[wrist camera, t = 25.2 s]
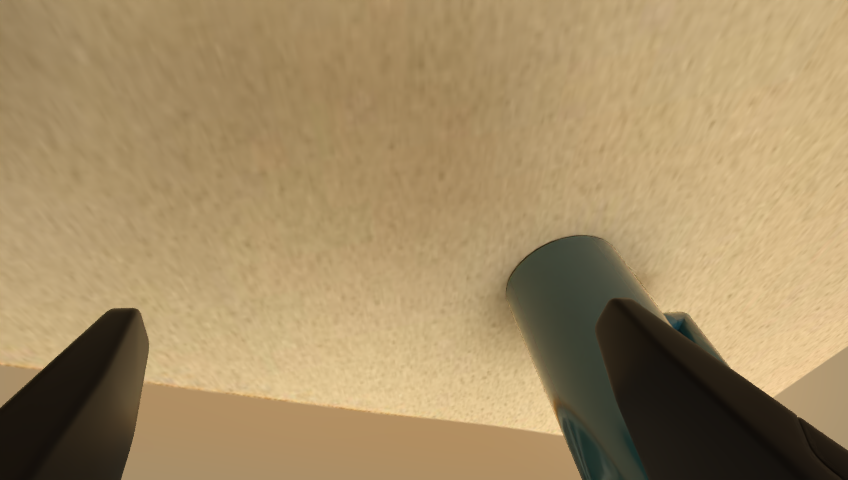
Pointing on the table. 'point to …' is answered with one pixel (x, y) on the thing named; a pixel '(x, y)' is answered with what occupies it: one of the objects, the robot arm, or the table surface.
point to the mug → (583, 345)
